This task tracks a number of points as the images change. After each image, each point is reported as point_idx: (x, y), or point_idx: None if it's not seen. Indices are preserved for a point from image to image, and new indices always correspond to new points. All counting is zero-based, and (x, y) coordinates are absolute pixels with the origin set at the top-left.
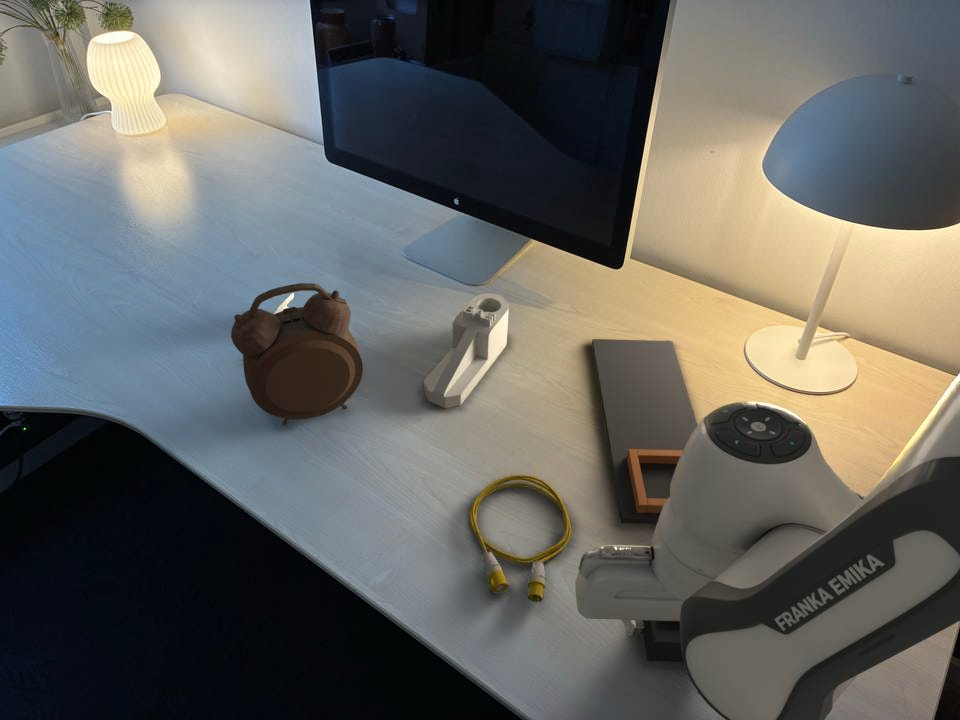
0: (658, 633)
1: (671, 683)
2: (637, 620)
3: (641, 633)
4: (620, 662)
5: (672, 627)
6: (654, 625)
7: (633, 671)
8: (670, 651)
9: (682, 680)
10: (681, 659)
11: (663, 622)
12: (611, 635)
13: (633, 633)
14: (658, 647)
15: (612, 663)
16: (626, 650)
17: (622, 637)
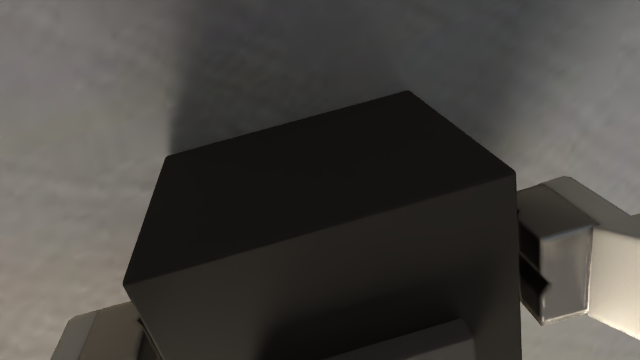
0: (480, 238)
1: (285, 7)
2: (575, 269)
3: None
4: (531, 46)
5: (385, 306)
6: (505, 279)
7: (474, 18)
8: (343, 155)
9: (229, 40)
10: (251, 142)
11: (441, 315)
12: (554, 158)
13: (545, 190)
14: (441, 151)
15: (568, 30)
16: (498, 112)
17: (509, 164)
